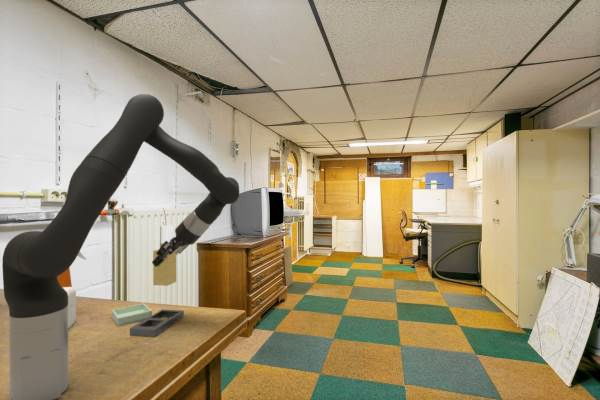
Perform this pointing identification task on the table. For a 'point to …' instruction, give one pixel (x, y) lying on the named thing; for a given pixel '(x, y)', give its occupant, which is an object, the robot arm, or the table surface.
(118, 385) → the table surface
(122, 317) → the parts tray
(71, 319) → the photo printer
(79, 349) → the table surface
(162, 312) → the grey metal holder frame
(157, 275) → the gold perfume bottle
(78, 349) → the table surface
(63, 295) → the robot arm
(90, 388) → the table surface
